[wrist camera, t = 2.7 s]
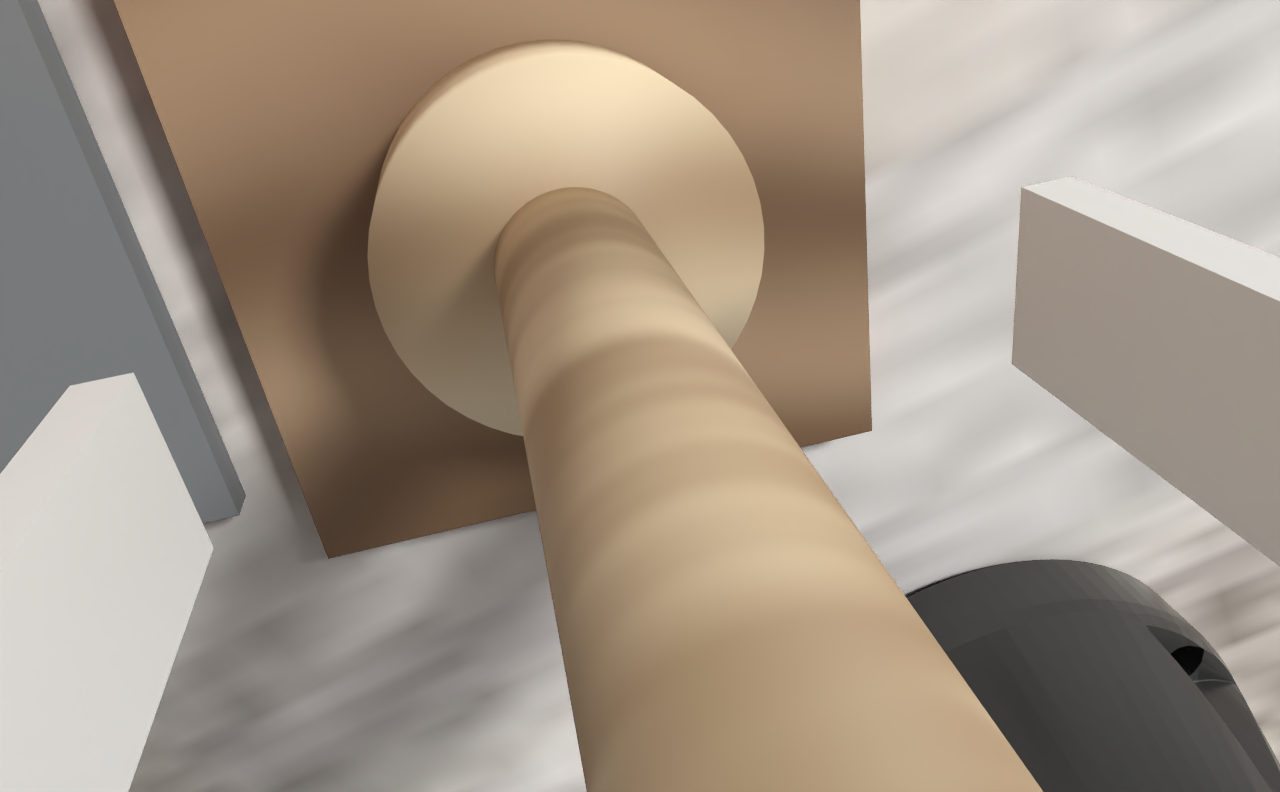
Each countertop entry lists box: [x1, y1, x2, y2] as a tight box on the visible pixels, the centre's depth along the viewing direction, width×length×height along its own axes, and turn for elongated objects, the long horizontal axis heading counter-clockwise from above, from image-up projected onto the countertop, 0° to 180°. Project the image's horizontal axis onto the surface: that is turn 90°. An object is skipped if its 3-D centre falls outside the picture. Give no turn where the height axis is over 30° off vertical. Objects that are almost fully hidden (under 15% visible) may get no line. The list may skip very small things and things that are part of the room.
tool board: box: [114, 0, 872, 559], centre depth 19 cm, size 13×13×1 cm
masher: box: [367, 39, 1043, 792], centre depth 12 cm, size 7×7×16 cm
